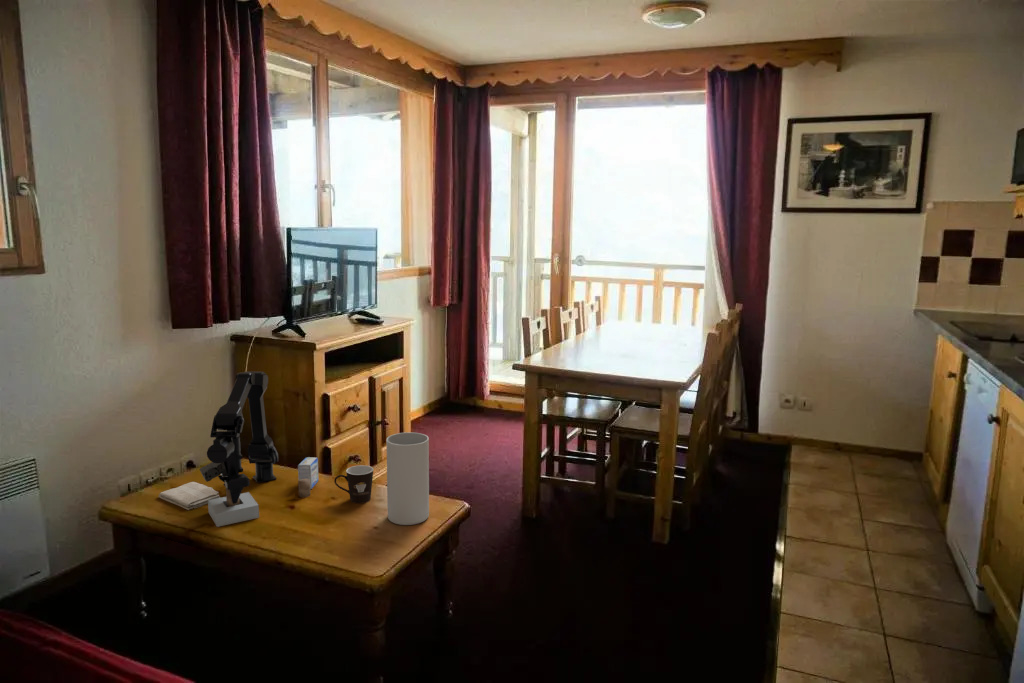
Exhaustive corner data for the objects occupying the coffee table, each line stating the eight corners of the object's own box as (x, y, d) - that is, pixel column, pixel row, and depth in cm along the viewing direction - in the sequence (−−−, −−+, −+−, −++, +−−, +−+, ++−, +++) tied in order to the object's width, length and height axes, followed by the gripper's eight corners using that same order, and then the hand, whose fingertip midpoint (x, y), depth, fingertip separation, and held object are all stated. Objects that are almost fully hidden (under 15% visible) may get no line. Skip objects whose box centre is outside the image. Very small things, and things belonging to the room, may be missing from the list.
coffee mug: (378, 495, 224) (377, 466, 222) (368, 505, 216) (367, 475, 214) (344, 492, 226) (344, 463, 224) (333, 502, 217) (332, 472, 216)
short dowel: (297, 494, 224) (296, 480, 223) (308, 492, 226) (307, 478, 225) (300, 498, 221) (300, 483, 220) (311, 495, 223) (311, 481, 222)
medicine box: (311, 489, 228) (310, 465, 227) (298, 489, 228) (297, 464, 227) (318, 481, 236) (318, 457, 234) (306, 480, 236) (305, 456, 234)
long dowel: (226, 510, 207) (224, 482, 206) (238, 507, 209) (236, 480, 208) (228, 514, 204) (227, 486, 203) (241, 511, 206) (239, 483, 205)
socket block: (208, 512, 208) (207, 500, 208) (249, 504, 215) (248, 492, 215) (216, 526, 199) (216, 513, 198) (259, 517, 205) (258, 505, 205)
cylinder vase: (435, 511, 212) (434, 434, 207) (419, 528, 200) (418, 447, 196) (398, 507, 215) (397, 430, 211) (380, 523, 203) (379, 442, 199)
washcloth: (189, 512, 210) (188, 503, 209) (157, 499, 219) (156, 490, 219) (224, 500, 219) (223, 491, 219) (191, 487, 229) (190, 479, 229)
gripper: (195, 447, 207) (198, 496, 209) (207, 466, 192) (210, 518, 194) (233, 441, 213) (236, 489, 216) (248, 458, 198) (251, 509, 200)
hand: (233, 501), depth 206 cm, fingers closed on long dowel, 4 cm apart
